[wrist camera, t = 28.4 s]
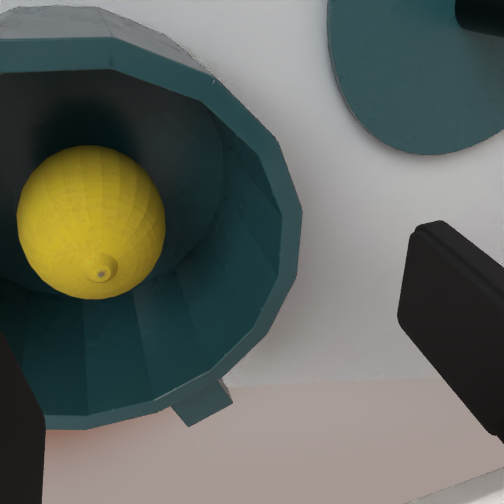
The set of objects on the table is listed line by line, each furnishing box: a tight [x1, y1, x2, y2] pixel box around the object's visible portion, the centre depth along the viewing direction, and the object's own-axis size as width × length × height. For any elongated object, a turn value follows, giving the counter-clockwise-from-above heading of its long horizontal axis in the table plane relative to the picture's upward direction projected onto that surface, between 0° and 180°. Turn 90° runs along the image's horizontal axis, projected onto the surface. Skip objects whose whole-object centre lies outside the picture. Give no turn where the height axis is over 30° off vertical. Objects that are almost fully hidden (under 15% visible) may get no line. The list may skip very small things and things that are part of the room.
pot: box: [0, 5, 303, 430], centre depth 19 cm, size 15×20×8 cm
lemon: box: [17, 145, 166, 299], centre depth 19 cm, size 6×6×8 cm
